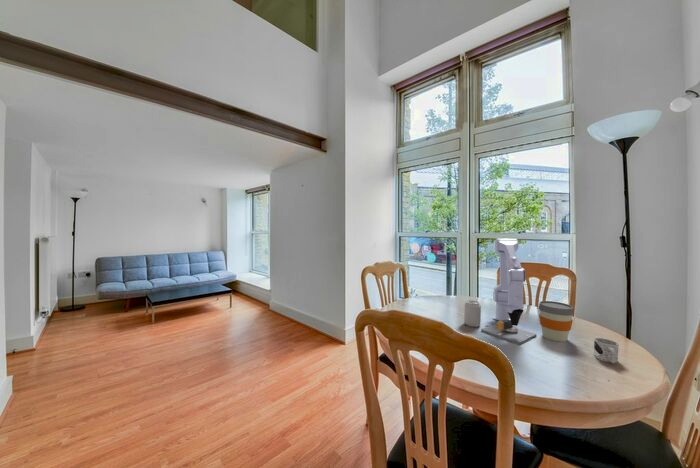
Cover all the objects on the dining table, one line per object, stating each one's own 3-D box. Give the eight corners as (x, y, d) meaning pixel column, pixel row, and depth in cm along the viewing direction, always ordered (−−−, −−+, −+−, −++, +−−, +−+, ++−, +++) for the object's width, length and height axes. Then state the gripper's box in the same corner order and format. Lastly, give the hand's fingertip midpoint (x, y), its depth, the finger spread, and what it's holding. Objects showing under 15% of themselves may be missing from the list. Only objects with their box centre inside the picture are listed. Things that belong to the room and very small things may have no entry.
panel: (498, 324, 135) (498, 321, 135) (536, 336, 121) (536, 333, 121) (481, 331, 126) (481, 328, 126) (519, 345, 112) (519, 342, 112)
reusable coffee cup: (573, 337, 120) (574, 304, 119) (571, 346, 111) (573, 311, 110) (539, 329, 129) (540, 299, 128) (535, 337, 119) (536, 304, 119)
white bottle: (477, 322, 137) (477, 299, 137) (482, 328, 130) (483, 304, 130) (462, 321, 138) (462, 299, 138) (467, 327, 131) (467, 303, 130)
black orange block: (506, 326, 129) (507, 315, 129) (521, 331, 123) (521, 320, 123) (492, 329, 125) (492, 318, 125) (506, 335, 119) (506, 323, 118)
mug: (590, 352, 105) (591, 336, 105) (612, 356, 103) (613, 339, 102) (601, 364, 96) (602, 347, 96) (626, 369, 94) (627, 351, 93)
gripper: (511, 290, 126) (510, 318, 127) (499, 296, 117) (498, 326, 117) (528, 293, 121) (527, 322, 121) (517, 299, 111) (516, 331, 112)
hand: (514, 324), depth 119 cm, fingers closed
